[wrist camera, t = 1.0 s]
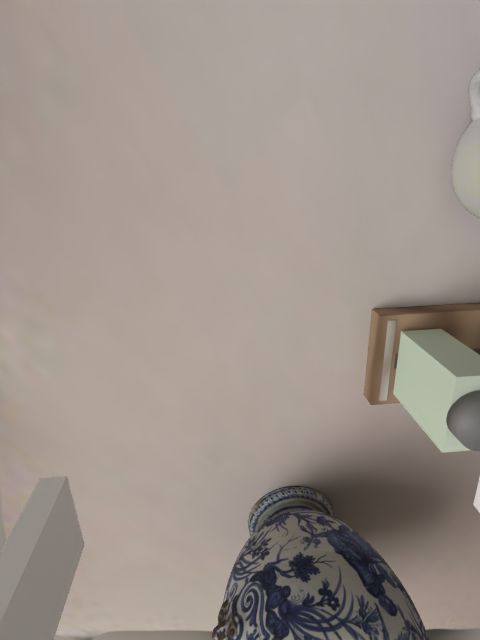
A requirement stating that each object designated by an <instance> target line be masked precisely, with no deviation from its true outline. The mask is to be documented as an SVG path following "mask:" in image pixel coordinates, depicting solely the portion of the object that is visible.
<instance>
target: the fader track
mask: <svg viewBox="0 0 480 640" xmlns="http://www.w3.org/2000/svg"><path fill="white" fill-rule="evenodd" d="M429 329H442V330H444V331H445V332H447V333H448V334H450V335H451V336H452V337H454V338H455V339H457V340H458V341H460V342H461V343H463V344H464V345H466V346H467V347H469V348H470V349H472V350H473V351H475V352H476V353H478V354H479V355H480V303H471V304H454V305H436V306H418V307H401V308H383V309H372V316H371V327H370V337H369V347H368V357H367V368H366V378H365V388H364V396H365V397H366V398H367V400H368V401H369V403H370V404H371V405H377V404H390V403H400V401H399V400H398V399H397V398H396V397H395V395H394V394H393V391H394V383H395V375H396V368H397V360H398V352H399V344H400V336H401V331H413V330H429Z"/></svg>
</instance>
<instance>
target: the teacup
mask: <svg viewBox="0 0 480 640" xmlns="http://www.w3.org/2000/svg"><path fill="white" fill-rule="evenodd" d="M469 97H470V102H471V106H472V111H471V118H472V122H471V123H470V125H469V126H468V127H467V129H466V130H465V132H464V133H463V135H462V137H461V138H460V140H459V143H458V145H457V147H456V150H455V153H454V157H453V161H452V183H453V188H454V191H455V193H456V195H457V198H458V199H459V201H460V202H461V204H462V205H463V206H464V207H465V208H466V209H467V210H468V211H469V212H471V213H472V214H473V215H475V216H477V217H479V218H480V69H479V70H478V71H477V72H476V74H475V75H474V76H473V78H472V80H471V82H470V85H469Z"/></svg>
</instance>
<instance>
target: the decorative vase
mask: <svg viewBox="0 0 480 640" xmlns="http://www.w3.org/2000/svg"><path fill="white" fill-rule="evenodd" d="M248 527H249V532H250V535H251V537H250V538H249V539H248V541H247V542H246V544H245V545H244V547H243V548H242V550H241V552H240V554H239V556H238V558H237V560H236V562H235V564H234V567H233V569H232V572H231V575H230V578H229V581H228V584H227V588H226V592H225V596H224V601H223V604H222V606H221V609H220V612H219V615H218V625H217V626H216V627H215V628H214V630H213V634H212V640H429V638H428V635H427V633H426V630H425V627H424V625H423V623H422V620H421V618H420V616H419V614H418V612H417V610H416V608H415V606H414V604H413V602H412V600H411V598H410V596H409V595H408V593H407V591H406V590H405V588H404V587H403V585H402V583H401V582H400V580H399V579H398V577H397V576H396V575H395V573H394V572H393V571H392V569H391V568H390V567H389V565H388V564H387V563H386V562H385V560H384V559H383V558H382V557H381V556H380V555H379V554H378V553H377V551H376V550H375V549H374V548H373V547H372V546H371V545H370V544H369V543H368V542H367V541H366V540H365V539H364V538H363V537H361V536H360V535H359V534H358V533H357V532H356V531H355V530H353V529H352V528H351V527H349V526H348V525H347V524H345V523H344V522H342V521H340V520H339V519H337V518H335V517H333V510H332V507H331V505H330V503H329V501H328V500H327V498H326V497H325V496H324V495H323V494H321V493H320V492H317V491H316V490H313V489H310V488H306V487H298V486H295V487H285V488H281V489H277V490H275V491H273V492H271V493H269V494H267V495H265V496H264V497H262V498H261V499H260V500H259V501H258V502H257V503H256V504H255V506H254V507H253V508H252V510H251V512H250V515H249V519H248Z"/></svg>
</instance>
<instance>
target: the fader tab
mask: <svg viewBox="0 0 480 640" xmlns="http://www.w3.org/2000/svg"><path fill="white" fill-rule="evenodd" d="M393 394H394V395H395V397H396V398H397V399H398V400H399V401H400V403H401V404H402V405H403V406H404V407H405V409H406V410H407V411H408V412H409V413H410V415H411V416H412V417H413V418H414V419H415V421H416V422H417V423H418V424H419V425H420V427H421V428H422V429H423V430H424V431H425V433H426V434H427V435H428V436H429V437H430V439H431V440H432V441H433V442H434V443H435V445H436V446H437V447H438V448H439V449H440V451H441V452H442V453H444V452H456V451H468V450H474V451H480V355H479V354H478V353H476V352H475V351H473V350H472V349H470V348H469V347H467V346H466V345H464V344H463V343H461V342H460V341H458V340H457V339H455V338H454V337H452V336H451V335H450V334H448V333H447V332H445V331H444V330H442V329H429V330H413V331H401V336H400V344H399V352H398V360H397V368H396V375H395V383H394V391H393Z"/></svg>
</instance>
